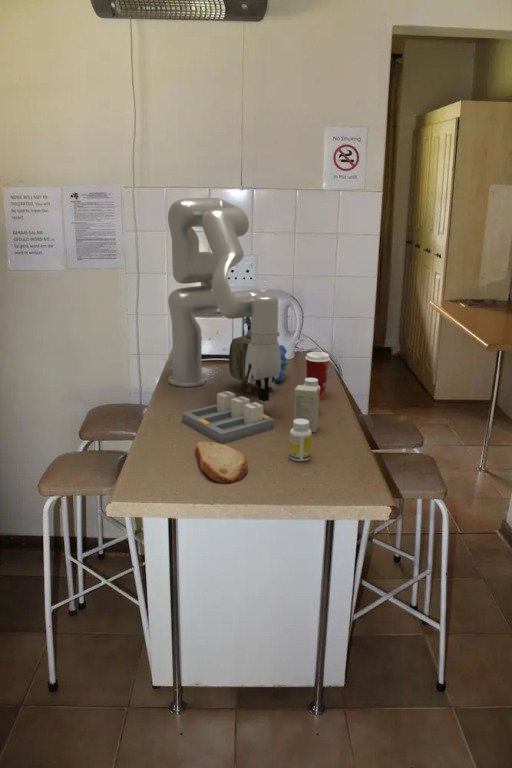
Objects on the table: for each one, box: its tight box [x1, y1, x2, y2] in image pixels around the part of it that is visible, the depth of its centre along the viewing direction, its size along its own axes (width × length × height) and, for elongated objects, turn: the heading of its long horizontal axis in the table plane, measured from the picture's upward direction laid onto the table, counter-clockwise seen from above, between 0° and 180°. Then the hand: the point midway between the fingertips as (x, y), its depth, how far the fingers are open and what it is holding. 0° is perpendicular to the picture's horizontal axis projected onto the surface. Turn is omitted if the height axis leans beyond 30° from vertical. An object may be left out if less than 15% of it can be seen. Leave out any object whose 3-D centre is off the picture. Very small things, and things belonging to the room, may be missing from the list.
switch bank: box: [181, 403, 275, 444], centre depth 186 cm, size 19×18×3 cm
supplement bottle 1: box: [288, 419, 313, 462], centre depth 166 cm, size 5×5×10 cm
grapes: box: [275, 344, 288, 383], centre depth 225 cm, size 12×7×12 cm, turn 171°
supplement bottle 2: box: [303, 377, 321, 413], centre depth 196 cm, size 6×6×10 cm
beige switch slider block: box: [216, 390, 236, 412], centre depth 192 cm, size 3×4×6 cm
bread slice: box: [194, 441, 249, 485], centre depth 162 cm, size 18×18×4 cm
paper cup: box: [305, 351, 331, 400], centre depth 209 cm, size 8×8×14 cm
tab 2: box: [244, 401, 264, 425], centre depth 184 cm, size 3×4×6 cm
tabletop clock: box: [228, 316, 274, 393], centre depth 211 cm, size 14×9×25 cm, turn 53°
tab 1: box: [231, 395, 251, 418], centre depth 188 cm, size 3×4×6 cm
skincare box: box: [293, 384, 320, 433], centre depth 183 cm, size 6×4×12 cm
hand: (263, 399), depth 192 cm, fingers closed
